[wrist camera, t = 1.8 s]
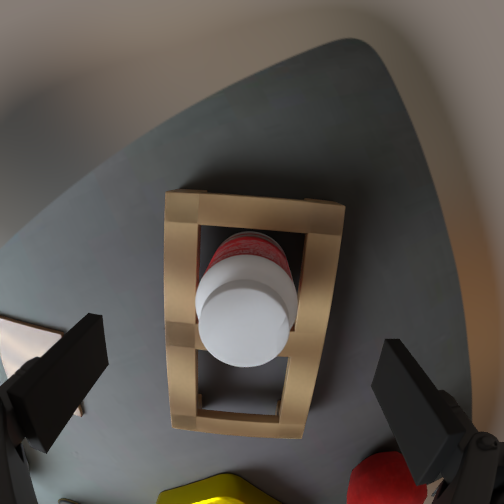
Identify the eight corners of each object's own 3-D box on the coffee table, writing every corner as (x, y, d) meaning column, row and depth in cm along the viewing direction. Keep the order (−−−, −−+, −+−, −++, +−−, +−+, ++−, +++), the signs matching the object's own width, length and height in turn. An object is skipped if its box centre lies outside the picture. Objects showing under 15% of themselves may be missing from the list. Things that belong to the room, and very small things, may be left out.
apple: (385, 425, 31) (414, 494, 20) (421, 449, 32) (448, 506, 22) (323, 469, 33) (334, 537, 22) (365, 487, 34) (380, 545, 24)
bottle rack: (177, 188, 25) (165, 191, 22) (334, 201, 25) (345, 205, 22) (178, 405, 31) (171, 428, 27) (298, 415, 31) (301, 438, 27)
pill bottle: (202, 242, 26) (165, 291, 16) (275, 220, 26) (286, 256, 15) (226, 309, 28) (208, 388, 17) (295, 290, 27) (316, 363, 16)
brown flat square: (-8, 312, 29) (-11, 314, 28) (63, 331, 29) (60, 334, 28) (14, 389, 32) (12, 392, 31) (83, 414, 32) (81, 417, 31)
